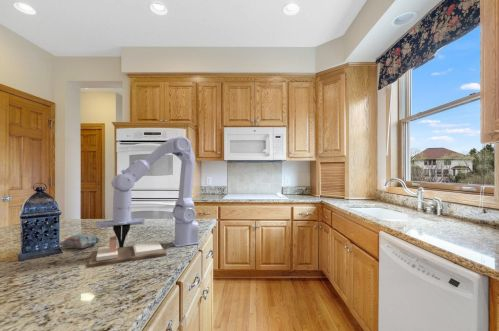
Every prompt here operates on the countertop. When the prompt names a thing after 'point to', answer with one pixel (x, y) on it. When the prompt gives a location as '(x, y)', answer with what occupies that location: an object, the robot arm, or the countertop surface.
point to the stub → (108, 251)
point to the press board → (123, 257)
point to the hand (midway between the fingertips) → (121, 246)
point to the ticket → (147, 248)
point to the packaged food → (80, 241)
